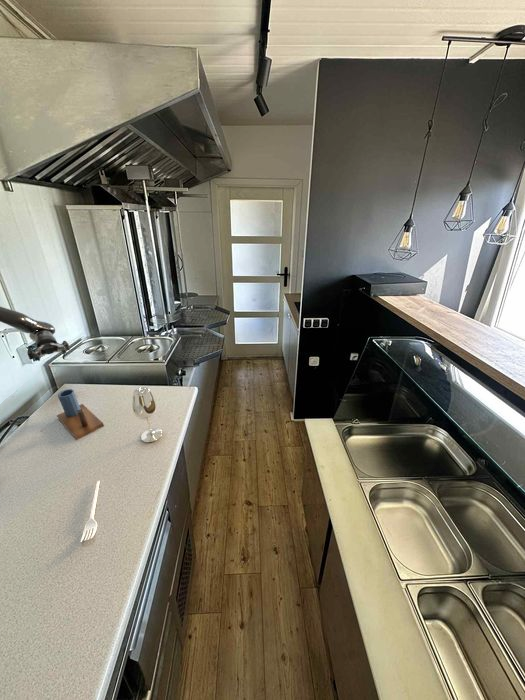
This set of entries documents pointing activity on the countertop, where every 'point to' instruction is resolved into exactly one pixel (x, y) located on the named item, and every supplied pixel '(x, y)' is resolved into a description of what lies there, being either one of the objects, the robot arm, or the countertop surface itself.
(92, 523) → the fork
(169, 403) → the countertop surface
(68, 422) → the peg rack
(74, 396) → the tube peg
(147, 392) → the wineglass
